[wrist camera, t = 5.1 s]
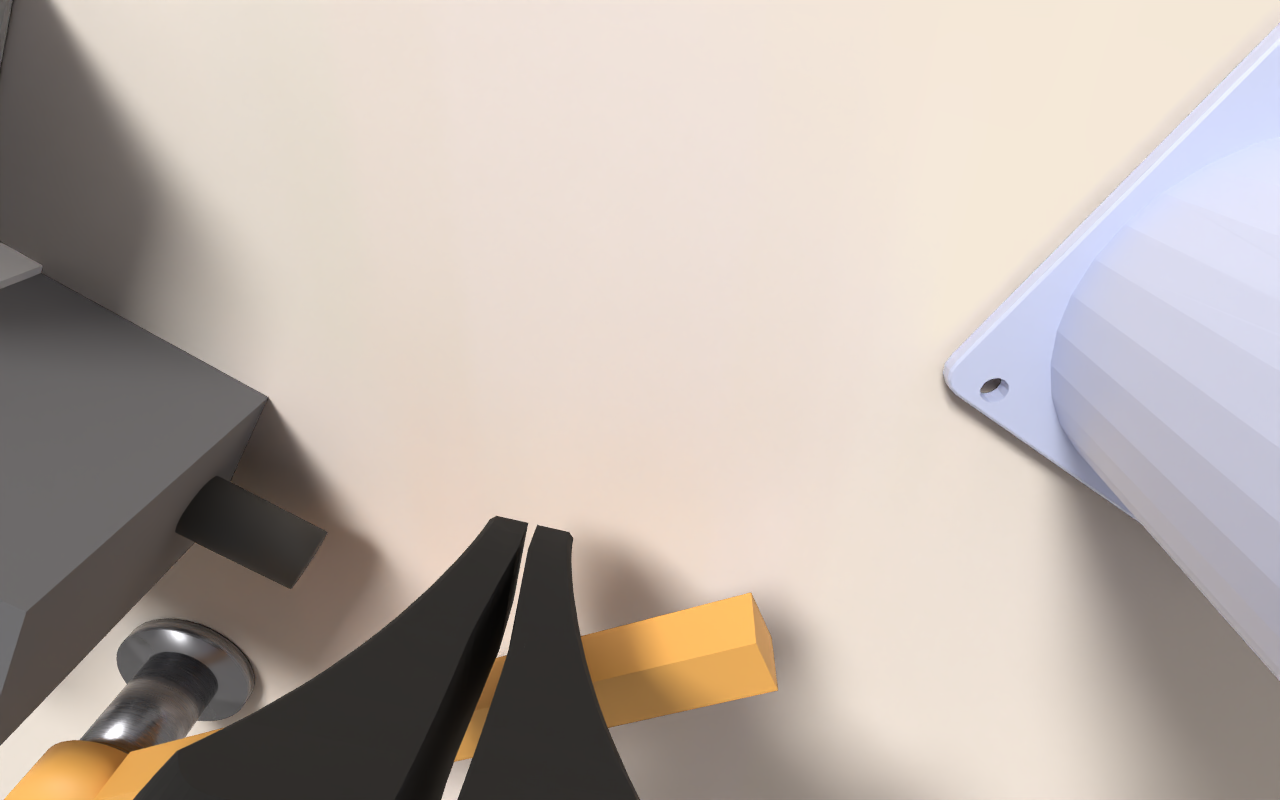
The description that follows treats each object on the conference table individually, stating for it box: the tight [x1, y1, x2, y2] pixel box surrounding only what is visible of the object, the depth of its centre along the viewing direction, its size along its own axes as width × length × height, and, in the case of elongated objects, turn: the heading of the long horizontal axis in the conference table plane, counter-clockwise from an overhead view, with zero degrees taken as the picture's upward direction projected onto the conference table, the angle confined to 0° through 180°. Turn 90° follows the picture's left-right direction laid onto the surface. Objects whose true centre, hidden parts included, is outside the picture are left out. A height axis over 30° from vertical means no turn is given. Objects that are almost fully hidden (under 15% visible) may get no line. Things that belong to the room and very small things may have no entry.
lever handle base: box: [80, 619, 255, 754], centre depth 19 cm, size 4×4×3 cm
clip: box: [4, 593, 778, 800], centre depth 15 cm, size 3×18×2 cm, turn 113°
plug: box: [0, 242, 327, 745], centre depth 14 cm, size 9×5×6 cm, turn 57°
